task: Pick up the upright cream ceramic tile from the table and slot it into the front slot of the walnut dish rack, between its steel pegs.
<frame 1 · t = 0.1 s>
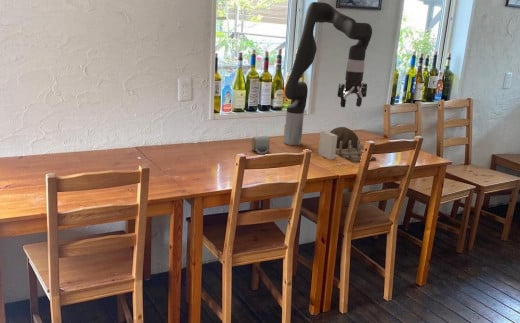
hand: (350, 106, 216), 29 cm above the table, tool pointing down, fingers open, 8 cm apart
ceramic mug: (261, 151, 244), on the table
cream tile: (326, 156, 242), on the table
dish rack: (353, 156, 246), on the table
decorative dome: (341, 145, 267), on the table
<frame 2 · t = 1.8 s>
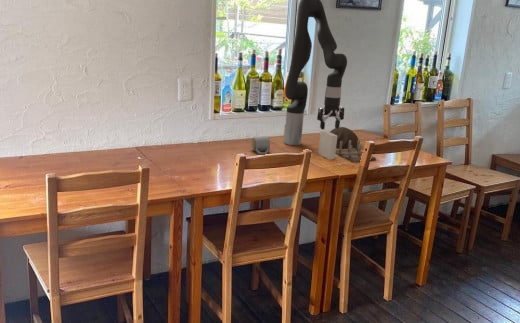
hand: (329, 128, 238), 14 cm above the table, tool pointing down, fingers open, 8 cm apart
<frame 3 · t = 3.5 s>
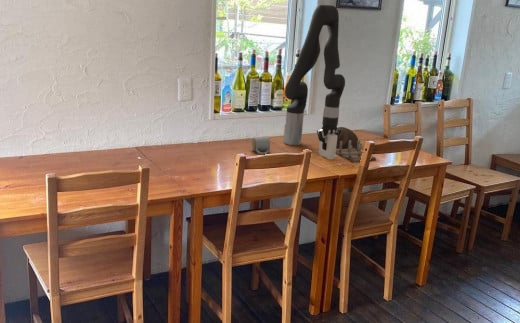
hand: (327, 149, 241), 4 cm above the table, tool pointing down, fingers closed on cream tile, 3 cm apart
cream tile: (326, 156, 242), on the table, touching gripper
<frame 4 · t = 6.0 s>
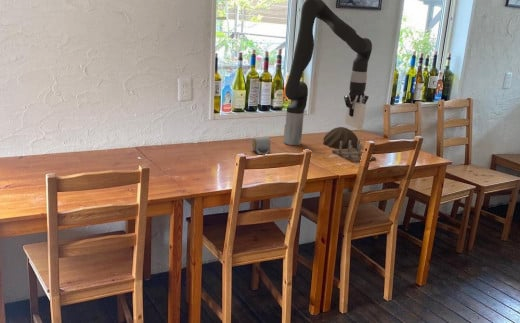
hand: (354, 115, 238), 21 cm above the table, tool pointing down, fingers closed on cream tile, 3 cm apart
cream tile: (353, 126, 239), point 16 cm above the table, touching gripper
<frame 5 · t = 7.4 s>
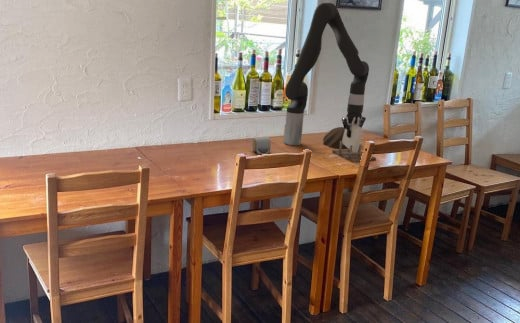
hand: (351, 137, 241), 10 cm above the table, tool pointing down, fingers closed on cream tile, 3 cm apart
cream tile: (349, 147, 243), point 5 cm above the table, tilted 11°, touching gripper
when the fingers open (6 cm above the table, at t = 8.5 s): cream tile stays where it is, resting on dish rack.
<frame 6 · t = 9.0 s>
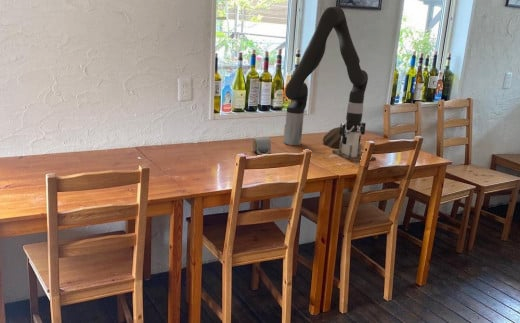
hand: (350, 143, 242), 7 cm above the table, tool pointing down, fingers open, 8 cm apart
cream tile: (348, 153, 245), point 1 cm above the table, touching dish rack
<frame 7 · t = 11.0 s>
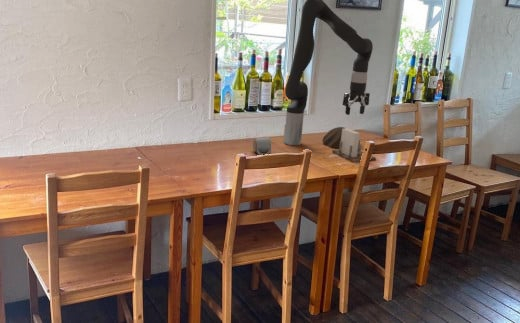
hand: (354, 114, 238), 22 cm above the table, tool pointing down, fingers open, 8 cm apart
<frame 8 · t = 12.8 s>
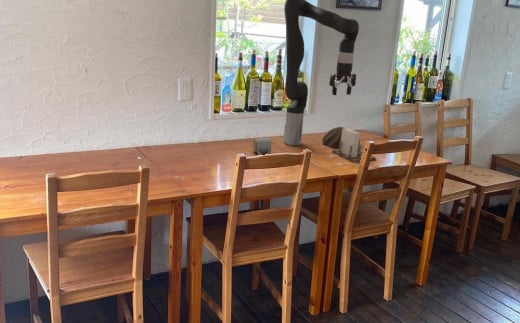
hand: (341, 94, 240), 30 cm above the table, tool pointing down, fingers open, 8 cm apart
at the end: cream tile 1.1 cm from the target spot on the dish rack, point 1.2 cm above the dish rack's base; cream tile tilted 0°; the gripper is holding nothing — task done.
